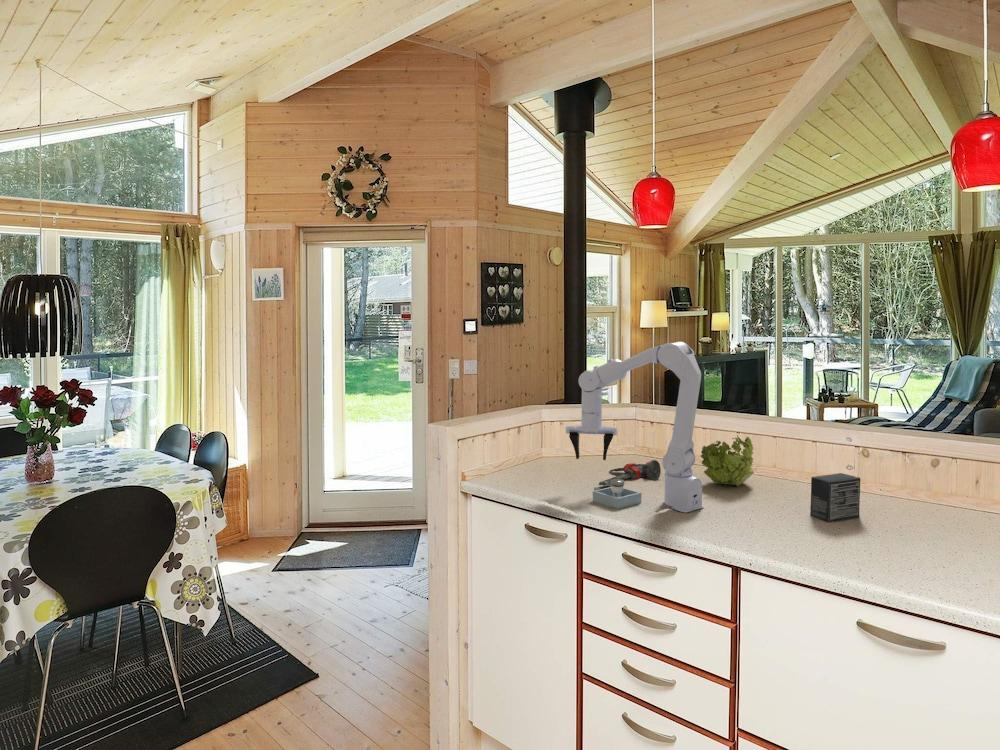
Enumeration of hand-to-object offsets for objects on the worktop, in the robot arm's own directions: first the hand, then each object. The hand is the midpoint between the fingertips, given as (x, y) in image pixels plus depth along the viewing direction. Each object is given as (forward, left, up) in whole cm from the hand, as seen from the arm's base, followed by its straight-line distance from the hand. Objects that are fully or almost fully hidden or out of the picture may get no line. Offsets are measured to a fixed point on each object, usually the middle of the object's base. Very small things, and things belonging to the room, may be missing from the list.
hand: (591, 458), depth 196 cm
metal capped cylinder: (-13, +3, -9) cm, 16 cm away
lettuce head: (-18, -40, -10) cm, 45 cm away
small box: (-54, -33, -10) cm, 64 cm away
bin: (-13, +3, -10) cm, 17 cm away
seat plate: (-5, -2, -10) cm, 11 cm away
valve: (+5, -19, -10) cm, 22 cm away
